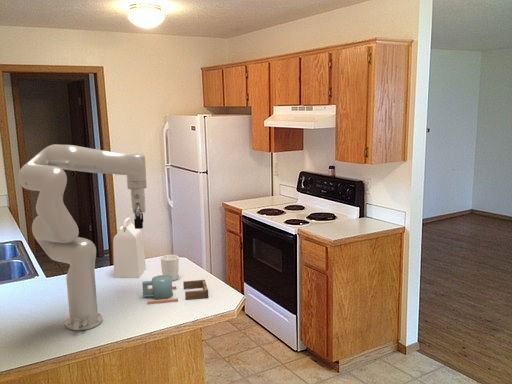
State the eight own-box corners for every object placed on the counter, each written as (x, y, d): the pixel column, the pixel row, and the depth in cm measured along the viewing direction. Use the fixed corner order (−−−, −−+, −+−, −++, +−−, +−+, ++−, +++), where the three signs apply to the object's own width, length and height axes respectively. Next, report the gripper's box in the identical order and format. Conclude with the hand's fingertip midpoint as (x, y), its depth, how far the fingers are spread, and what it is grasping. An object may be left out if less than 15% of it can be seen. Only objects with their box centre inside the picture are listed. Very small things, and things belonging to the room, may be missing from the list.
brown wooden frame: (208, 297, 189) (208, 290, 188) (185, 299, 187) (185, 292, 186) (205, 286, 201) (204, 279, 200) (183, 288, 199) (183, 281, 198)
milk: (139, 278, 211) (136, 222, 206) (114, 278, 211) (110, 222, 206) (145, 268, 223) (143, 216, 218) (122, 268, 223) (118, 216, 218)
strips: (178, 301, 186) (178, 299, 185) (147, 304, 183) (147, 301, 183) (176, 288, 199) (176, 285, 199) (147, 290, 196) (147, 288, 196)
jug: (172, 298, 188) (172, 281, 187) (143, 301, 186) (142, 283, 184) (172, 291, 196) (171, 274, 194) (143, 293, 193) (142, 276, 192)
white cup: (181, 275, 214) (180, 254, 212) (176, 282, 206) (175, 260, 204) (164, 275, 214) (163, 254, 212) (159, 281, 207) (158, 260, 205)
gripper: (146, 187, 181) (148, 230, 184) (146, 180, 198) (148, 219, 201) (126, 188, 180) (128, 231, 183) (128, 181, 196) (130, 221, 199)
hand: (139, 225), depth 192 cm, fingers open, 9 cm apart
